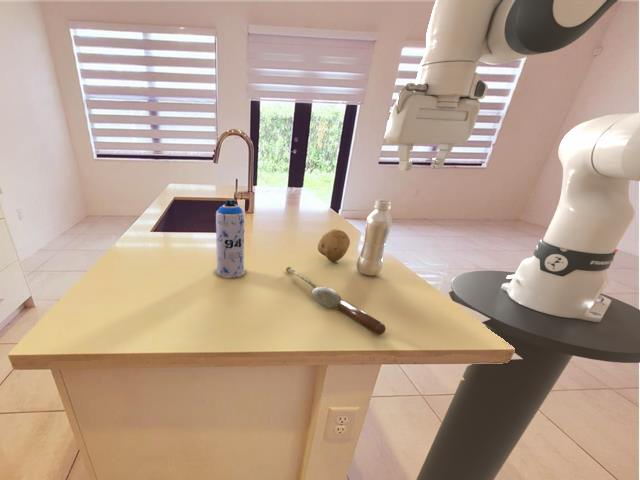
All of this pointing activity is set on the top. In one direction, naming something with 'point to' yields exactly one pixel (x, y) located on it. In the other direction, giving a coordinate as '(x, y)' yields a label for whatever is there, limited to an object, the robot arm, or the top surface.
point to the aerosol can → (230, 240)
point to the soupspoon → (321, 293)
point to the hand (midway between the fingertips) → (420, 169)
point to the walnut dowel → (362, 317)
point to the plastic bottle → (375, 238)
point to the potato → (334, 244)
